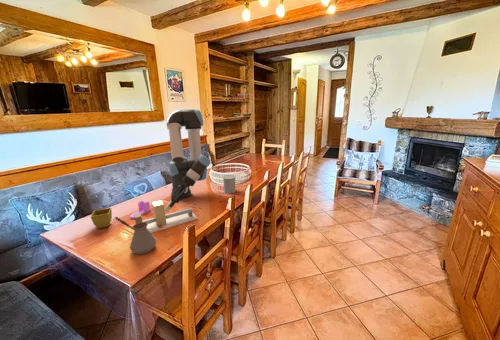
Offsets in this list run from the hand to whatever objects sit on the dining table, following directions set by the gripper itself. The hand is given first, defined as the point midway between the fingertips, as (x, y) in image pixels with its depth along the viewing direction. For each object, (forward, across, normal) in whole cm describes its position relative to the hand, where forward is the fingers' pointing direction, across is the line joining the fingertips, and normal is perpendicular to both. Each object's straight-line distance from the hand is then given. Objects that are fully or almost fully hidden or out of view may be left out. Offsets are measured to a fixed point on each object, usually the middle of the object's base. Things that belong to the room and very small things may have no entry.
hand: (166, 210), depth 126 cm
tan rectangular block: (+7, +1, -2) cm, 8 cm away
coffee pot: (+19, -15, +7) cm, 25 cm away
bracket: (+15, +24, +3) cm, 28 cm away
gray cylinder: (-32, +24, -45) cm, 60 cm away
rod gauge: (+6, +1, -6) cm, 8 cm away
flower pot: (+28, +20, +16) cm, 38 cm away
